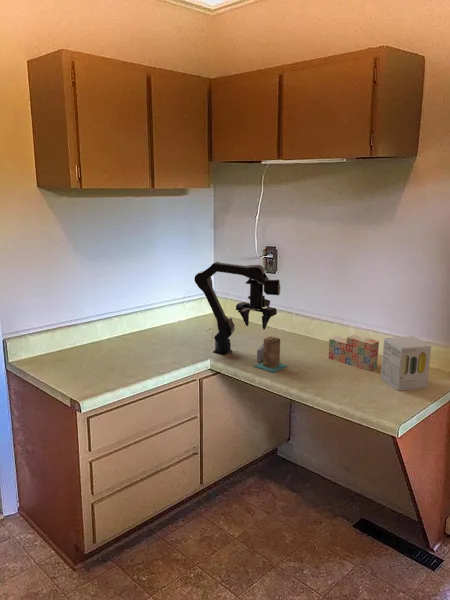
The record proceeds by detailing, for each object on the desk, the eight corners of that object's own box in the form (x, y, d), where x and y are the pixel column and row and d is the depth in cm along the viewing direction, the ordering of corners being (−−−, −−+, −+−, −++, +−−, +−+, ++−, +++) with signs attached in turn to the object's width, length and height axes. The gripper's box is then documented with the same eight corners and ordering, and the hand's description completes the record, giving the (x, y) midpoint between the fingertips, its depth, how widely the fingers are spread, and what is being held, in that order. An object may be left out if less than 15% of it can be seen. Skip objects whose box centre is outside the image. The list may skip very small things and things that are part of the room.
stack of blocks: (327, 358, 244) (329, 332, 241) (336, 355, 248) (337, 329, 245) (369, 371, 229) (371, 343, 226) (377, 368, 233) (379, 340, 230)
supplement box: (397, 391, 208) (401, 348, 204) (379, 378, 221) (383, 337, 217) (427, 388, 211) (432, 345, 207) (409, 376, 224) (413, 335, 220)
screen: (256, 361, 238) (257, 349, 237) (265, 352, 250) (265, 341, 249) (260, 362, 238) (260, 350, 237) (268, 353, 250) (268, 341, 248)
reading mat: (254, 366, 232) (254, 365, 232) (268, 361, 239) (268, 359, 239) (273, 372, 226) (273, 371, 225) (287, 366, 233) (287, 365, 233)
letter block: (262, 365, 232) (263, 338, 229) (269, 362, 236) (270, 335, 233) (272, 368, 229) (273, 340, 226) (279, 365, 233) (280, 338, 230)
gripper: (284, 293, 241) (282, 327, 245) (249, 287, 252) (249, 320, 256) (270, 298, 232) (269, 333, 236) (235, 291, 243) (234, 325, 247)
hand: (255, 327), depth 244 cm, fingers open, 9 cm apart
